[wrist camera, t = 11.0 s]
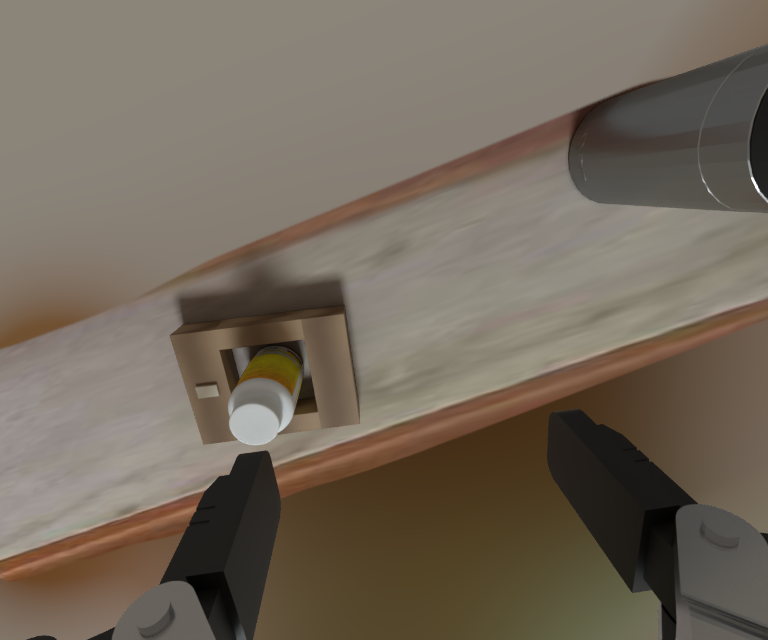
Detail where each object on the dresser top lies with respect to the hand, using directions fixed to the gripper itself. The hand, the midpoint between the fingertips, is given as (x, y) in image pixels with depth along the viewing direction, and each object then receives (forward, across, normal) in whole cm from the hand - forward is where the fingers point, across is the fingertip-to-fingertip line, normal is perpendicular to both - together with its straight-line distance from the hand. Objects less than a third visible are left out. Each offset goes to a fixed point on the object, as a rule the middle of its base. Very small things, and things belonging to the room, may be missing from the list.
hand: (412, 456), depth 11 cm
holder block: (+28, +11, +10) cm, 32 cm away
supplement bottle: (+28, +11, +10) cm, 32 cm away
